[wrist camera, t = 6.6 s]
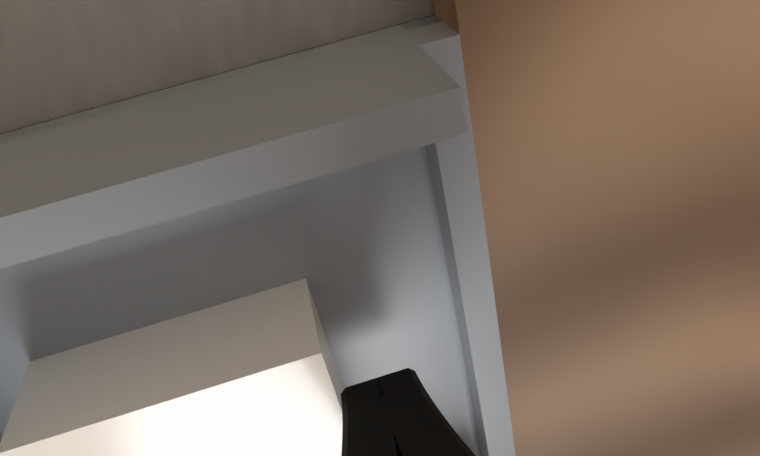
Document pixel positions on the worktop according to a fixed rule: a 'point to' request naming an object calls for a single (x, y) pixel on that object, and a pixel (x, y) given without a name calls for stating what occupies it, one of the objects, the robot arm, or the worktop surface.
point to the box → (269, 217)
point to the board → (621, 218)
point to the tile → (190, 387)
